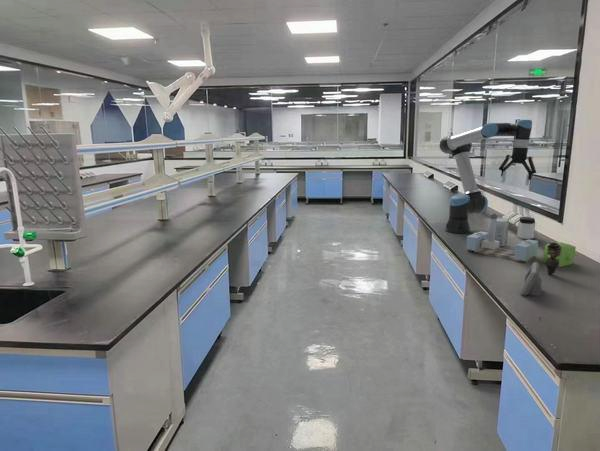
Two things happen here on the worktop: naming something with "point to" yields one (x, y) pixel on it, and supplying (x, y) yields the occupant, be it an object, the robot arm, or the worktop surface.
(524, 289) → the gray robed figurine
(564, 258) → the lime green rounded box
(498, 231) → the supplement tub
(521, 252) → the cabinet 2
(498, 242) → the white stand
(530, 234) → the jar
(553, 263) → the dark brown figurine
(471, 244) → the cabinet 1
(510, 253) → the rail bench
